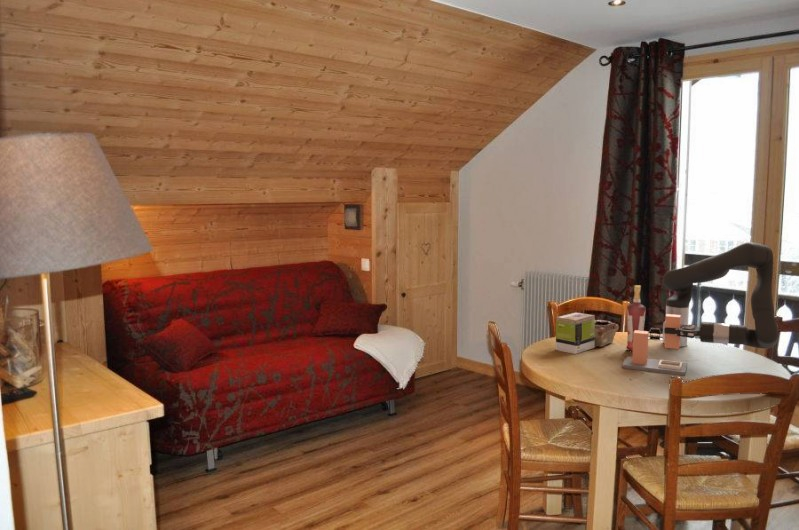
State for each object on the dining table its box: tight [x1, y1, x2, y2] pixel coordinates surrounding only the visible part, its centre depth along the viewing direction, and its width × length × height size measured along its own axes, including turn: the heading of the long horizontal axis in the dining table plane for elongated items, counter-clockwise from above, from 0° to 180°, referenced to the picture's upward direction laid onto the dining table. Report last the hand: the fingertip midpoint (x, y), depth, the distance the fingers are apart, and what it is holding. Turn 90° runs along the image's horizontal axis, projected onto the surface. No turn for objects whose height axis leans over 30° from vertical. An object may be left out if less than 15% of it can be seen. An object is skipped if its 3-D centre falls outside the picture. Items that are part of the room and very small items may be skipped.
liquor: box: [625, 284, 647, 353], centre depth 267 cm, size 7×7×28 cm
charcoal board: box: [621, 330, 688, 377], centre depth 244 cm, size 22×14×13 cm, turn 63°
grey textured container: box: [594, 319, 619, 348], centre depth 283 cm, size 13×20×10 cm, turn 133°
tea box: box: [555, 312, 596, 355], centre depth 271 cm, size 15×10×15 cm, turn 131°
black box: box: [648, 327, 663, 341], centre depth 293 cm, size 13×8×5 cm, turn 69°
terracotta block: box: [664, 314, 681, 350], centre depth 240 cm, size 5×5×12 cm
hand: (665, 329), depth 241 cm, fingers closed on terracotta block, 5 cm apart
